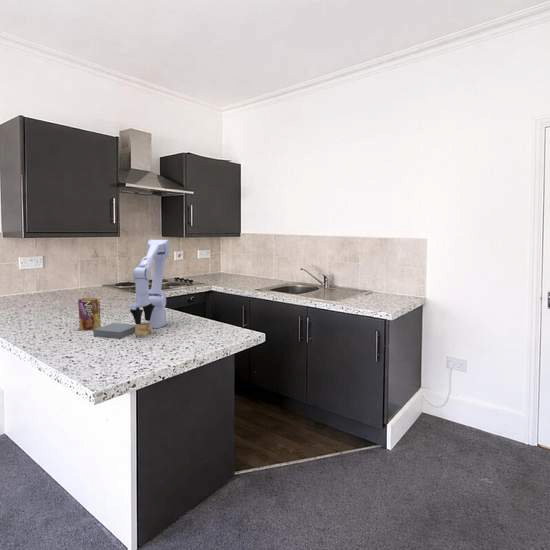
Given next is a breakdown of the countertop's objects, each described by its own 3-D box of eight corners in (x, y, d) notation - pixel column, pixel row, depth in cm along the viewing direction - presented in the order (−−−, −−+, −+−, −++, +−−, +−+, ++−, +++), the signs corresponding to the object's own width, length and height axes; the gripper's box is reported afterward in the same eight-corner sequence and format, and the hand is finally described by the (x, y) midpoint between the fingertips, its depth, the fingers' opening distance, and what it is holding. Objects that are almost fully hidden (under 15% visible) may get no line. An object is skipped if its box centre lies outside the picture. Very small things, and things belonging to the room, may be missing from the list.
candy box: (101, 327, 193) (100, 296, 192) (98, 329, 189) (97, 298, 187) (81, 327, 192) (80, 297, 190) (79, 330, 187) (77, 298, 186)
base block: (113, 328, 190) (113, 322, 190) (139, 331, 187) (138, 324, 186) (93, 336, 177) (93, 329, 177) (120, 338, 173) (120, 332, 173)
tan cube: (141, 332, 185) (141, 322, 184) (151, 333, 183) (150, 322, 183) (135, 335, 180) (135, 324, 179) (145, 336, 179) (144, 325, 178)
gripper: (143, 290, 188) (144, 318, 189) (124, 295, 174) (125, 325, 175) (156, 291, 186) (157, 319, 187) (138, 296, 172) (139, 326, 173)
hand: (143, 322), depth 181 cm, fingers open, 7 cm apart
